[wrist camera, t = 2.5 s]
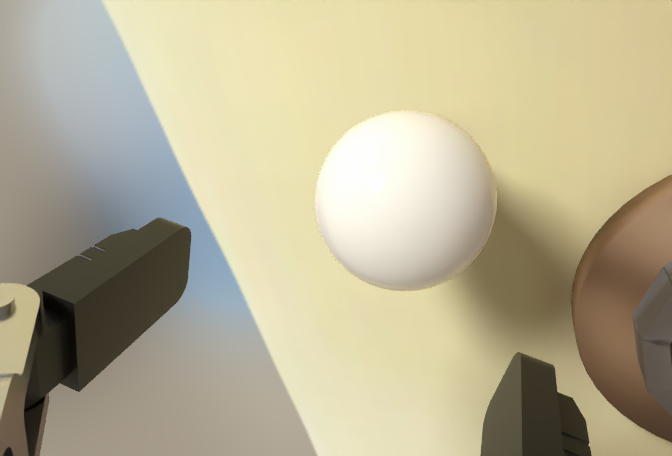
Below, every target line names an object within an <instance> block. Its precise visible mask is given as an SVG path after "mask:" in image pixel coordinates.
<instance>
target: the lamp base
mask: <svg viewBox="0 0 672 456" xmlns="http://www.w3.org/2000/svg"><path fill="white" fill-rule="evenodd" d="M571 303H572V316H573V323H574V329H575V336H576V342H577V346H578V350H579V354H580V357H581V360H582V362H583V364H584V367H585V369H586V371H587V373H588V375H589V377H590V378H591V380H592V381H593V383H594V385H595V386H596V388H597V389H598V390H599V391H600V392H601V394H602V395H603V396H604V397H605V398H606V399H607V401H608V402H609V403H611V404H612V405H613V406H614V407H615V408H616V409H617V410H618V411H619V412H620V413H622V414H623V415H624V416H626V417H627V418H628V419H630V420H631V421H633V422H634V423H635V424H637V425H638V426H640V427H642V428H644V429H645V430H647V431H649V432H651V433H652V434H654V435H656V436H658V437H661V438H663V439H665V440H667V441H670V442H672V175H670V176H668V177H666V178H664V179H663V180H661V181H659V182H657V183H655V184H654V185H652V186H650V187H648V188H647V189H645V190H644V191H642V192H641V193H639V194H638V195H637V196H635V197H634V198H632V199H631V200H630V201H628V202H627V203H626V204H624V205H623V206H622V207H621V208H620V209H619V210H618V211H617V212H616V213H615V214H614V215H612V216H611V217H610V218H609V219H608V220H607V222H606V223H605V224H604V225H603V226H602V228H601V229H600V230H599V231H598V232H597V233H596V235H595V236H594V238H593V239H592V241H591V242H590V244H589V246H588V247H587V249H586V250H585V252H584V254H583V257H582V259H581V261H580V263H579V266H578V268H577V272H576V275H575V279H574V283H573V290H572V300H571Z"/></svg>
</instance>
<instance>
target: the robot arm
mask: <svg viewBox="0 0 672 456" xmlns="http://www.w3.org/2000/svg"><path fill="white" fill-rule="evenodd" d="M190 245H191V232H190V229H189V228H187V227H185V226H182V225H179V224H177V223H174V222H171V221H168V220H166V219H163V218H157V219H155V220H153V221H152V222H150V223H148V224H147V225H145V226H144V227H142V228H140V229H139V230H135V229H131V230H128V231H124V232H120V233H117V234H113V235H110V236H109V237H107V238H105V239H104V240H102V241H101V242H99V243H97V244H95V245H94V247H93V248H92V247H90V248H89V249H87V250H85V251H84V252H82V253H81V254H80V256H75V257H74V258H72V259H71V260H69V261H67V262H65V263H64V264H62V265H60V266H59V267H57V268H55V269H54V270H52V271H50V272H49V273H47V274H45V275H44V276H42V277H40V278H39V279H37V280H35V281H34V282H32V283H30V284H29V285H27V286H24V285H21V284H15V283H0V456H40V451H41V445H42V439H43V434H44V428H45V423H46V417H47V411H48V405H49V392H50V391H51V390H52V389H53V388H54V387H56V386H57V385H58V384H59V383H61V384H63V385H65V386H67V387H69V388H71V389H74V390H76V391H78V392H79V391H81V390H82V389H83V388H84V387H85V386H86V385H87V384H88V383H89V382H90V381H91V380H93V379H94V378H95V377H96V376H97V375H98V374H99V373H100V372H101V371H102V370H104V369H105V368H106V367H107V366H108V365H109V364H110V363H111V362H112V361H113V360H114V359H115V358H117V357H118V356H119V355H120V354H121V353H122V352H123V351H124V350H125V349H126V348H128V347H129V346H130V345H131V344H132V343H133V342H134V341H135V340H136V339H137V338H139V336H141V335H142V334H143V333H144V332H145V331H146V330H147V329H148V328H149V327H151V325H153V324H154V323H155V322H156V321H157V320H158V319H159V318H160V317H161V316H163V315H164V314H165V313H166V312H167V311H168V310H169V309H170V308H171V307H172V306H174V305H175V304H176V303H177V302H178V300H179V299H180V298H181V296H182V294H183V292H184V290H185V288H186V285H187V280H188V269H189V257H190ZM588 444H589V438H588V432H587V426H586V420H585V419H584V417H583V415H582V414H581V412H580V410H579V408H578V407H577V405H576V403H575V402H574V400H573V398H571V397H568V396H566V395H563V394H561V393H558V392H557V385H556V375H555V368H554V366H553V365H551V364H549V363H546V362H543V361H541V360H538V359H535V358H533V357H530V356H527V355H525V354H522V353H519V352H518V353H516V354H515V355H514V357H513V359H512V360H511V362H510V364H509V366H508V368H507V370H506V372H505V374H504V376H503V378H502V380H501V382H500V384H499V386H498V388H497V389H496V391H495V393H494V395H493V397H492V399H491V401H490V404H489V406H488V409H487V412H486V415H485V419H484V424H483V432H482V445H481V456H591V450H590V447H589V446H588Z"/></svg>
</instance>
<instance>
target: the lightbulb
mask: <svg viewBox="0 0 672 456" xmlns="http://www.w3.org/2000/svg"><path fill="white" fill-rule="evenodd" d="M314 206H315V216H316V221H317V225H318V228H319V231H320V234H321V237H322V239H323V241H324V243H325V245H326V246H327V248H328V250H329V251H330V253H331V254H332V255H333V257H334V258H335V259H336V260H337V262H338V263H339V264H340V265H341V266H342V267H343V268H345V269H346V270H347V271H348V272H349V273H351V274H352V275H354V276H355V277H357V278H358V279H360V280H362V281H364V282H366V283H368V284H370V285H373V286H376V287H379V288H382V289H387V290H392V291H418V290H424V289H428V288H432V287H435V286H437V285H440V284H442V283H445V282H447V281H449V280H450V279H452V278H454V277H455V276H457V275H458V274H460V273H461V272H462V271H463V270H465V269H466V268H467V267H468V266H469V265H470V264H471V263H472V262H473V261H474V260H475V259H476V257H477V256H478V255H479V253H480V252H481V251H482V249H483V248H484V246H485V244H486V242H487V240H488V238H489V236H490V234H491V231H492V228H493V225H494V221H495V217H496V211H497V189H496V183H495V178H494V175H493V171H492V169H491V166H490V164H489V162H488V159H487V158H486V156H485V154H484V152H483V151H482V149H481V148H480V146H479V145H478V144H477V143H476V142H475V140H474V139H473V138H472V137H471V136H470V135H469V134H468V133H467V132H465V131H464V130H463V129H462V128H460V127H459V126H458V125H456V124H454V123H453V122H451V121H449V120H447V119H445V118H443V117H441V116H438V115H435V114H432V113H428V112H423V111H417V110H396V111H390V112H385V113H381V114H378V115H375V116H372V117H370V118H368V119H366V120H364V121H362V122H360V123H358V124H357V125H355V126H354V127H352V128H351V129H350V130H348V131H347V132H346V133H345V134H344V135H343V136H342V137H341V138H340V139H339V140H338V141H337V142H336V143H335V144H334V146H333V147H332V148H331V150H330V151H329V153H328V155H327V156H326V158H325V160H324V162H323V164H322V166H321V169H320V172H319V174H318V178H317V182H316V187H315V197H314Z"/></svg>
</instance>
